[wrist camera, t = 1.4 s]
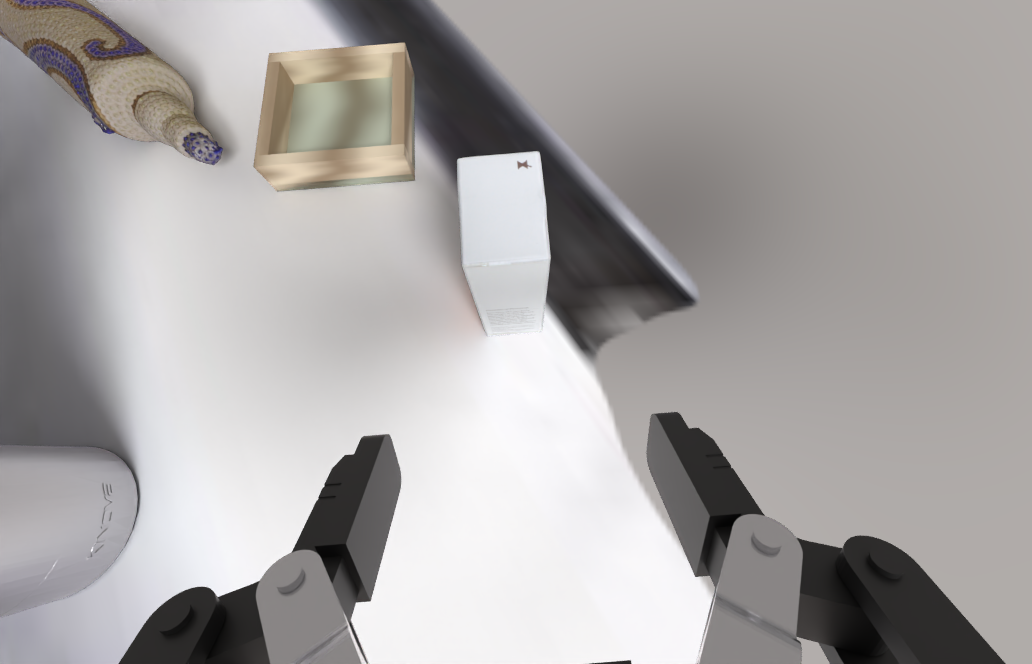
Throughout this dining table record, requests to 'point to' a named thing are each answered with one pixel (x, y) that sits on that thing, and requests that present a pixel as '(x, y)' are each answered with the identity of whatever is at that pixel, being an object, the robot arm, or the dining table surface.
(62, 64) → the decorative bottle
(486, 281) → the skincare box
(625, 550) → the dining table surface
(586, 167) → the dining table surface
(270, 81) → the pocket tray
